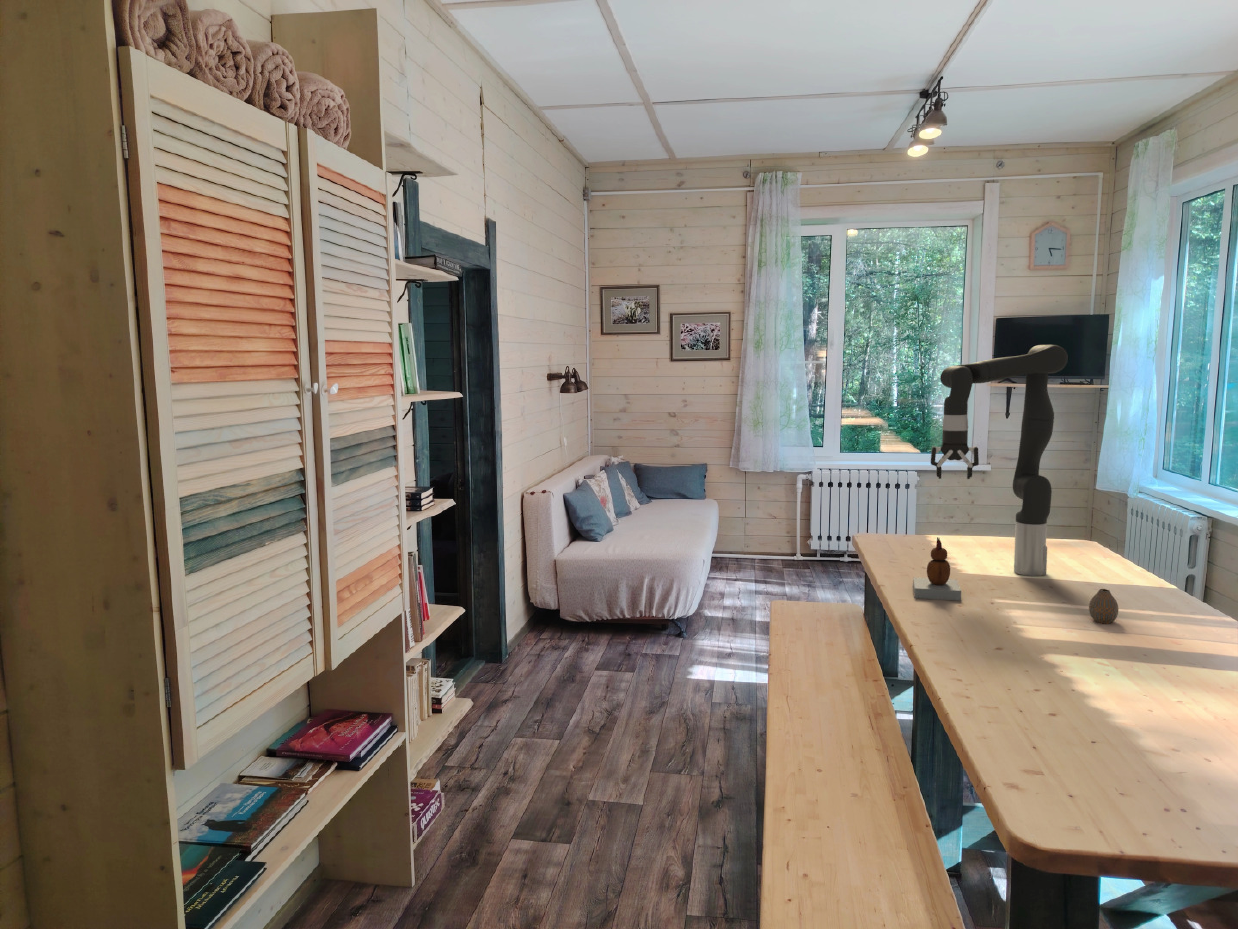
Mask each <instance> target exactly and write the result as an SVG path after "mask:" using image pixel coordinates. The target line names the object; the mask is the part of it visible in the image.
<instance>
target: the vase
mask: <svg viewBox="0 0 1238 929" xmlns="http://www.w3.org/2000/svg"><path fill="white" fill-rule="evenodd" d="M1119 609H1120V608H1119V604H1118V602H1117V599H1115V597H1114V596H1113V595H1112V593H1111V591H1110V589H1107V588H1100V589H1099V590H1098V591H1097V592H1096V593H1095V594H1094V595H1093V596H1092V597H1091V599H1090V600H1089V603H1088V612H1089V615H1090V617H1091V619H1092V620H1093V621H1094V622H1096V623H1100V624H1111V623H1113V622H1115V620H1117V618H1118V616H1119V611H1120V610H1119Z"/></svg>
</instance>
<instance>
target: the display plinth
mask: <svg viewBox="0 0 1238 929" xmlns="http://www.w3.org/2000/svg"><path fill="white" fill-rule="evenodd" d="M912 588H913V590H912V591H913V595H914V599H927V600H928V599H929V600H946V601H960V602H961V601H962V590H961V587H960V584H959V581H958V579H953V578H949V579H948V581H947V583H946V584H943V585H935V584H932V583H931V582H930V581H929V579H928V577H919V576H918V577H912Z"/></svg>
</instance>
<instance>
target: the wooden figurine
mask: <svg viewBox="0 0 1238 929" xmlns="http://www.w3.org/2000/svg"><path fill="white" fill-rule="evenodd" d="M930 558H931V559H932V560H930V561H928V564H927V567H926V575H927V578H928V579H929V581H930V582H931V583H932V584H935V585H943V584H946V583H947V581H948V579H950V576H951V566H950V562H949V561H948V560H947V558H948V551H947V549H946V548H943V545H942V542H941V540H940V537H936V547H932V549H931V550H930Z"/></svg>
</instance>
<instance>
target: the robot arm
mask: <svg viewBox="0 0 1238 929" xmlns="http://www.w3.org/2000/svg"><path fill="white" fill-rule="evenodd" d="M1068 358H1069V357H1068V352H1067V351H1066V349H1065V348H1063V347H1061V346H1060V345H1057V344H1038V345H1035V346H1033V347H1031V348H1030V349H1029V351H1028V352H1027V354H1021V355H1016V356H1005V357H997V358H991V359H986V360H981V361H977V362H972V363H965V364H957V365H951V366H948V367H946V368H944V369H943V370H942V371H941V373H940V383H941V384H942V385H943V386H944V387H946V388H948V389H949V388H950V392H949V395H948V396H947V397H946V398H944V401H943V419H942V436H941V438H942V439H941V440H942V441H941V443H942V444H941V446H932V447H931V451H930V452H931V454H930V465H931V466H934V467H935V468H936V474H935V475H936V477H937V478H938V479H939V480H940V479H941V480H942V465H943V464H944V463H945V462H946V461H947V460H949V461H954V460H955V461H961V460H963V461H964V462H965V465H967V468H966V479H967V480H970V479H971V478H972V477H973V468H974V467H977V466H979V465H980V462H979V460H980V459H979V448H978V447H977V446H976V445H975V446H973V447H972V446H971V447H969V445H968V443H969V442H968V441H969V439H968V438H969V437H968V436H969V433H968V431H969V430H968V429H969V419H968V407H969V406H968V402H969V399H970V396H971V390H972V387H973V384H985V383H990V382H991V383H992V382H995V381H1000V380H1005V379H1010V378H1014V377H1020V376H1024V375H1025V392H1024V402H1023V412H1022V419H1021V426H1020V430H1021V431H1020V437H1019V438H1020V440H1019V445H1018V447H1019V448H1018V457H1017V462H1016V466H1015V471H1014V475H1013V476H1014V477H1013V480H1012V491H1013V493H1014V495H1015V497H1017V498H1018V499H1020V500H1022V505H1021V506H1022V508H1021V509H1020V510H1019V511H1017V512H1016V514H1015V524H1014V525H1015V526H1014V527H1015V528H1014V529H1015V530H1014V532H1015V533H1014V556H1013V559H1014V560H1013V572H1014V574H1019V575H1021V576H1030V577H1039V576H1040V577H1041V576H1047V570H1048V569H1047V568H1048V565H1047V564H1048V546H1047V525H1048V524H1047V523H1048V517H1049V515H1050V512H1051V503H1052V495H1053V494H1052V485H1051V482H1050V480H1049V479H1048V478H1047V477H1045V476H1043V475H1040V465H1041V464H1040V463H1041V458H1042V456H1043V454H1044V452H1045V450H1046V448H1047V447H1048V445H1049V442H1050V441H1051V439H1052V437H1053V436H1052V435H1053V430H1054V422H1055V421H1054V420H1055V411H1054V407H1053V404H1052V401H1051V399H1050V395H1049V392H1048V391H1049V390H1048V384H1049V382H1048V381H1049V374H1055V373H1058V372H1060V371H1062V370H1063V369H1064V368H1065V367H1066V365H1067V364H1068ZM939 452H941V453H942V456H941V457H940V459H939V460H938V461H936V456H937V454H939ZM969 452H970V453H971V454H972V455H973V461H972V462H971V461H970V460H969V458H968V457H967V456H966V455H967V454H968V453H969Z"/></svg>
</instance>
